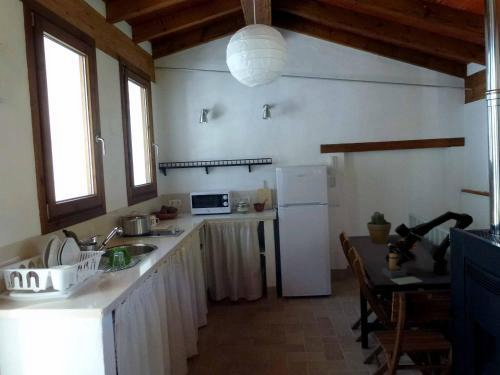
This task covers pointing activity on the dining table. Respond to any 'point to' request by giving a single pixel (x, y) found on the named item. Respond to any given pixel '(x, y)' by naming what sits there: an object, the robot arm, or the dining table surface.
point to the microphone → (387, 259)
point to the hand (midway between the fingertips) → (392, 263)
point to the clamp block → (394, 272)
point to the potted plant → (379, 228)
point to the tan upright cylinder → (393, 262)
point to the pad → (406, 280)
